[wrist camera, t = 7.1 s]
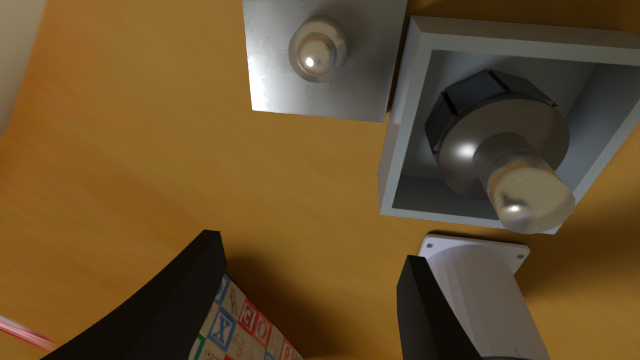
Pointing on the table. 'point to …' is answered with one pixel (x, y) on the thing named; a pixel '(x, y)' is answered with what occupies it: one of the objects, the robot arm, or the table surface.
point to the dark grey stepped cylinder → (503, 149)
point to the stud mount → (323, 56)
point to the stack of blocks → (239, 331)
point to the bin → (519, 60)
